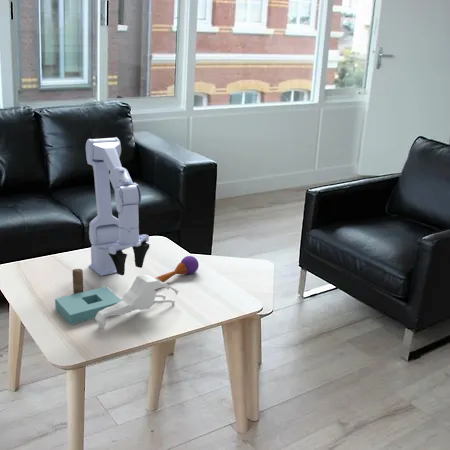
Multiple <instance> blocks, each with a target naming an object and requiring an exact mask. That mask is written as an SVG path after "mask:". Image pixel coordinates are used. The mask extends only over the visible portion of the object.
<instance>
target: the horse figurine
mask: <svg viewBox="0 0 450 450" xmlns="http://www.w3.org/2000/svg"><path fill="white" fill-rule="evenodd" d="M162 288H167V289H166V290H168V291H169V290H172V291H173V292H174V293H175V295H178V294H179V290H178V289H176V288H174V287H172V286H171V285H170V284H168V283H166V281H165V282H164V283H163V282H162V281H160V280H159V279H158V278H155V277H152V276H151V275H149V274H145V275H137V276H136V278H135V279H134V281H133V283H132V285H131V286H130V288H129V289H128V290H127V292H125V294H124V295H123V296H122V297H121V298H120V299H121V300H122V301H121V302H119V303H117V304H115V305H113V306H110V307H107V308H105V309H103V310H101V311H99V312H98V313H97V315H96V317H95V318H94V319H95V321H96V323H97V326H98V328H99V329H100V330H101V329H102V330H103V329H104V328H105V327H106V324H107V318H108V317H112V316H118V315H119V316H121V315H125V314H128V313H129V314H130V313H132V312H133V311H137V310H139V311H142V310H149V309H150V308H151V307H153V306H154V305H156V304H162V303H163V304H164V303H171V304H172V306H174V305H175V302H176V301H175V300H171V299H166V297H167V295H165V294H164V295H163V294H157V291H156V290H157V289H162ZM156 298H162V299H159V300H158V299H156Z"/></svg>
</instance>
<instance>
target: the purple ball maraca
mask: <svg viewBox="0 0 450 450" xmlns="http://www.w3.org/2000/svg"><path fill="white" fill-rule="evenodd" d="M198 269H199V261H198V259H197V258H196V257H195V256H193V255H187V256H185V257H183V258H182V259H181V261H180V262H179V263H178V264H177V266H176V267H175V269H174V270H173V271H170V272H168V273H165V274H161V275H159V276H156V277H154V278H158V279H159V280H160V281H162V282H163V283H164V282H165V283H166V282H167V281H168V280H169V279H170V278H173V276H176V275H187V274H188V275H193V274H194V273H196V272H197V271H198Z"/></svg>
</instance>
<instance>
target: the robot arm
mask: <svg viewBox="0 0 450 450" xmlns="http://www.w3.org/2000/svg"><path fill="white" fill-rule="evenodd" d="M121 154H122V146H121V140H120V139H119V138H118V137H117V136H115V137H106V138H105V137H104V138H88V139H87V140H86V143H85V156H86V161H87V165H90V166H92V170H93V177H94V189H95V190H94V191H95V203H96V214H97V215H96V216H95V217H94V218H93V219H92V220H91V221H90V222H89V223H88V225H89V228H88V235H89V236H88V238H89V242H90V244H91V247H90V259H91V260H90V261H91V263H89V264H88V266H89V268H91V269H92V270H93V271H94V272H95V273H97V275H99V276H100V277H103V276H107V275H111V274H117V275H120V276H124V275H125V274H126V273H125V272H126V269H125V266H126V265H125V264H126V259H127V257H128V254H127V253H125V252H123V251H124V250H127V249H129V248H132V250H133V251H132V252H133V257H134V264H135V267H137V268H140V269H141V268H143V265H144V261H145V257H146V255H147V252H148V250H149V249H150V243H148V242H149V235H148V234H140V229H139V228H140V227H139V226H140V225H139V223H140V221H139V220H140V219H139V205H140V204H141V203H142V192H141V188H140V185H139V184H138V183H136V182H133V180H132V178H131V176H130V173H129V171H128V169H127V168H125V167H123V166H122V163H121V160H120V158H121ZM110 183H111V184H110ZM111 186H112V188H113V190H114V200H115V207H116V211H117V215H118V216H117V217H118V218H117V217H116V216H114V215H113V209H112V208H113V207H112V195H111Z"/></svg>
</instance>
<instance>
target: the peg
mask: <svg viewBox="0 0 450 450" xmlns="http://www.w3.org/2000/svg"><path fill="white" fill-rule="evenodd" d="M81 292H84V270H83V268H82V269H81V268H74V269H72V293H73V294H77V293H81ZM73 294H72V295H73Z"/></svg>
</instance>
